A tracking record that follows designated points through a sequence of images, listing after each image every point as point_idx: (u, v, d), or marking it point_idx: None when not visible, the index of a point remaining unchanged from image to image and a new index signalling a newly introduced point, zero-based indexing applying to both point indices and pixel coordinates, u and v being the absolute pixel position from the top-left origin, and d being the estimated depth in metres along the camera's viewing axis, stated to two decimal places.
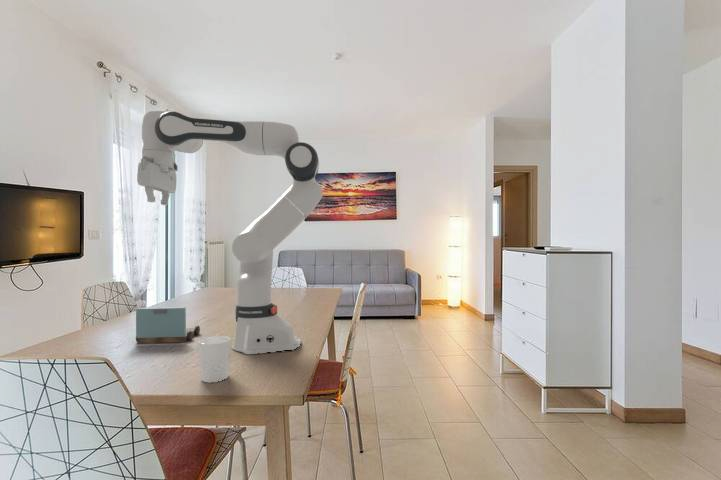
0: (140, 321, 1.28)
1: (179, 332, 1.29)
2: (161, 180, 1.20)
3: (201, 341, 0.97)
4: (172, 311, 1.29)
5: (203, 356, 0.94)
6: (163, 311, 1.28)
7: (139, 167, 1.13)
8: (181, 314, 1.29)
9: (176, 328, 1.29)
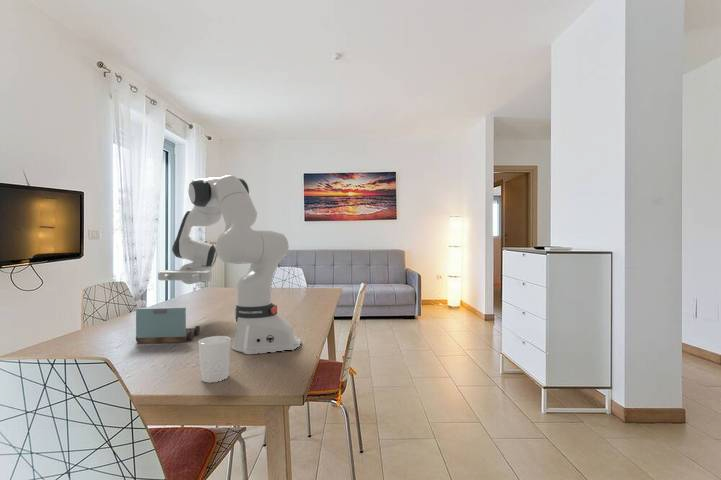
0: (140, 321, 1.28)
1: (179, 332, 1.29)
2: None
3: (201, 341, 0.97)
4: (172, 311, 1.29)
5: (203, 356, 0.94)
6: (163, 311, 1.28)
7: None
8: (181, 314, 1.29)
9: (176, 328, 1.29)
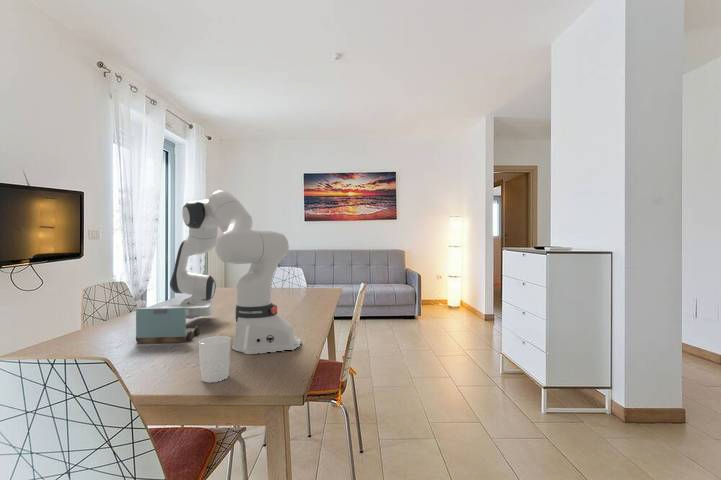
0: (140, 321, 1.28)
1: (179, 332, 1.29)
2: (180, 306, 1.51)
3: (201, 341, 0.97)
4: (172, 311, 1.29)
5: (203, 356, 0.94)
6: (163, 311, 1.28)
7: None
8: (181, 314, 1.29)
9: (176, 328, 1.29)
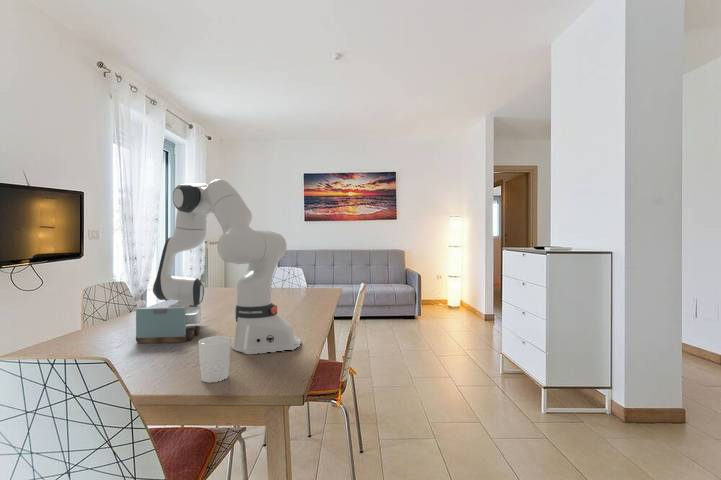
0: (140, 321, 1.28)
1: (179, 332, 1.29)
2: None
3: (201, 341, 0.97)
4: (172, 311, 1.29)
5: (203, 356, 0.93)
6: (163, 311, 1.28)
7: None
8: (181, 314, 1.29)
9: (176, 328, 1.29)
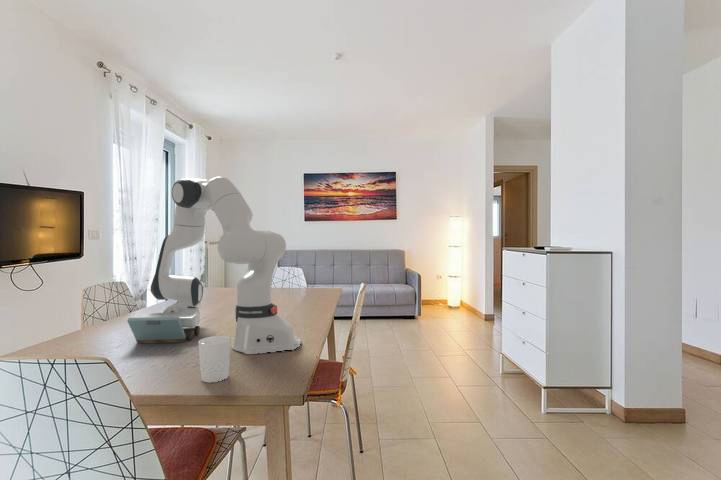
0: (135, 329, 1.25)
1: (178, 336, 1.29)
2: (163, 316, 1.34)
3: (201, 341, 0.97)
4: (166, 322, 1.24)
5: (203, 356, 0.94)
6: (156, 323, 1.23)
7: None
8: (176, 324, 1.25)
9: (174, 333, 1.28)
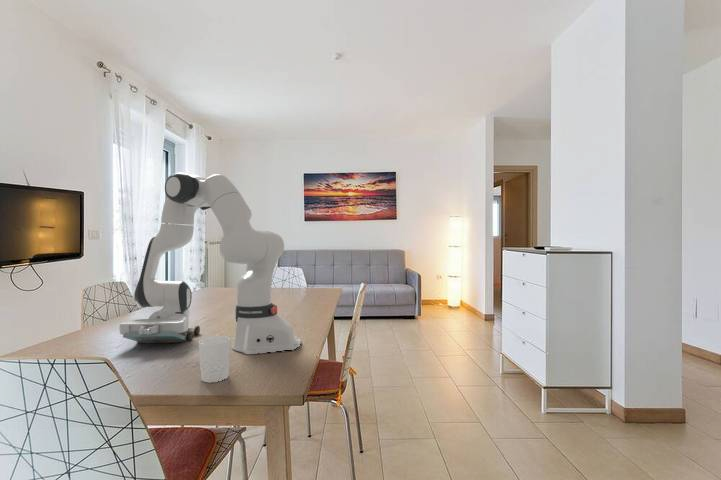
0: (133, 339, 1.23)
1: (178, 339, 1.29)
2: (148, 321, 1.24)
3: (201, 341, 0.97)
4: (163, 336, 1.22)
5: (203, 356, 0.94)
6: (154, 338, 1.21)
7: None
8: (174, 337, 1.23)
9: (173, 339, 1.27)
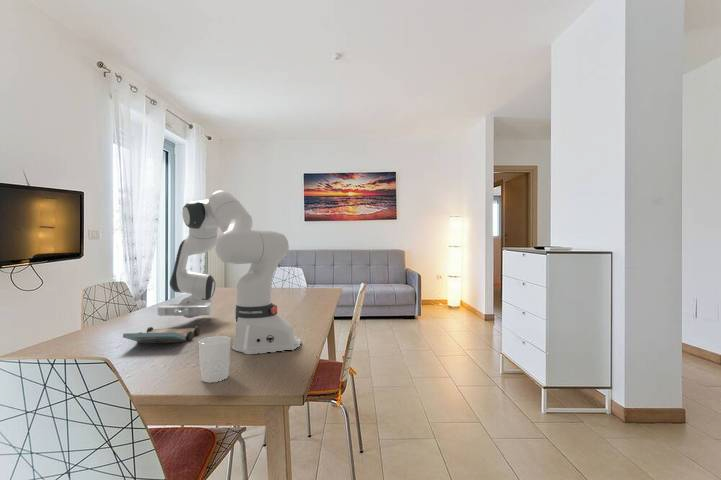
0: (133, 339, 1.23)
1: (178, 339, 1.29)
2: (180, 305, 1.52)
3: (201, 341, 0.97)
4: (163, 336, 1.22)
5: (203, 356, 0.94)
6: (154, 338, 1.21)
7: None
8: (174, 337, 1.23)
9: (173, 339, 1.27)
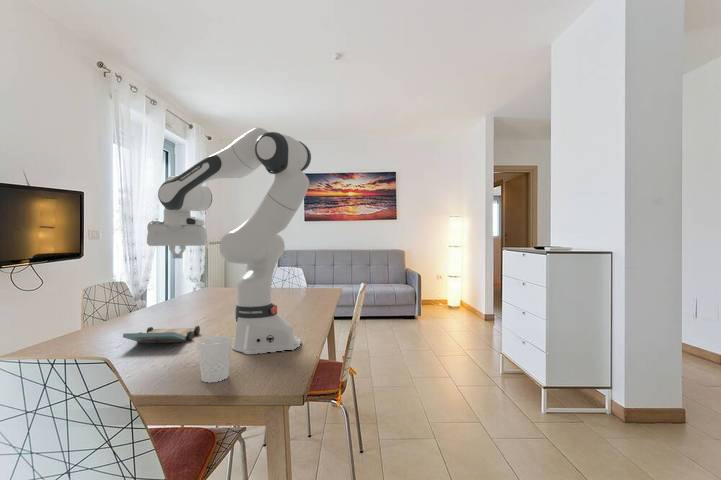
0: (133, 339, 1.23)
1: (178, 339, 1.29)
2: (170, 238, 1.34)
3: (201, 341, 0.97)
4: (163, 336, 1.22)
5: (203, 356, 0.94)
6: (154, 338, 1.21)
7: None
8: (174, 337, 1.23)
9: (173, 339, 1.27)
